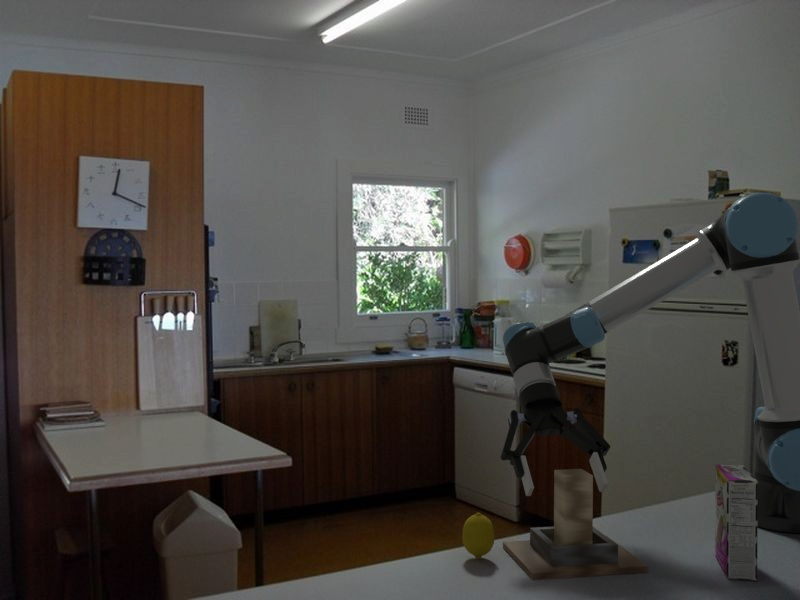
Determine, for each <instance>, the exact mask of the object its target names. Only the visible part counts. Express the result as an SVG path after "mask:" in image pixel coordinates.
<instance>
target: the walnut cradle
mask: <svg viewBox="0 0 800 600" xmlns="http://www.w3.org/2000/svg"><path fill="white" fill-rule="evenodd" d="M502 548H503V549H504V550H505V551H506V552H507V553H508V555H509V556H512V557H513V558H514V559H515V560H516V561H517V562H516V561H515V560H514V559H513V558H512V557H511V558H512V559H513V560H514V561H515V562H516V564H518V565H519V566H520V568H521V569H522V568H523V569H524V570H525V571H524V570H523V569H522V570H523V571H524V572H525V573H526V575H528V576H529V578H531V579H532V580H533V581H534V580H547V579H561V578H563V579H564V578H576V577H579V578H580V577H594V576H595V577H596V576H607V575H608V576H609V575H624V574H641V573H649V565H647V564H646V563H645V562H643V561H642V560H641V559H639V557H637V556H636V555H634V554H633V553H632V552H630V551H629V550H627V549H626V548H625V547H623V546H622V545H620V544H619V543H618V542H617V541H615V540H614V539H612V538H611V537H610V536H608V535H605V534H604V533H602V532H601V531H600V530H598V529H597V528H596V527H594V526H593V531H592V544H584V545H567V546H557V545H556V544H555V543H554V526H542V527H541V526H537V527H530V528H529V539H527V540H525V539H524V540H512V541H511V540H509V541H502Z"/></svg>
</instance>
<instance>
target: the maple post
mask: <svg viewBox="0 0 800 600" xmlns="http://www.w3.org/2000/svg"><path fill="white" fill-rule="evenodd" d="M553 473H554V478H553V481H554V486H553V503H554V504H553V527H554V543H555V544H556V545H557V546H567V545H584V544H592V531H593V527H594V525H593V523H594V521H593V520H594V518H593V516H594V513H593V511H594V510H593V509H594V507H593V506H594V505H593V504H594V474H591V473H589V472H588V471H586V470H584V469H583V468H570V469H569V468H568V469H566V468H565V469H554V472H553Z"/></svg>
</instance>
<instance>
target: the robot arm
mask: <svg viewBox="0 0 800 600" xmlns="http://www.w3.org/2000/svg"><path fill="white" fill-rule="evenodd" d="M798 226H799V222H798V216H797V213H796V211H795V210H794V208H793V206H792V205H791V204H790V203H789V201H787V200H785V199H784V197H781V196H779V195H778V194H775V193H769V192H763V191H762V192H755V193H754V192H752V193H750V194H746V195H743V196H742V197H739V198H738V199H737V200H735V201H734V202H733V203H732V204H731V206H729V207H728V208H727V209H726V210H725V211H724V212H722V214H721V215H720V216H719V217H718V218H716V219H715V220H714V221H712V222H711V223H709V224H707V225H706V226H705V227H703V228H701V229H700V230H699V231H698V234H697V236H696V238H695V239H692V240H690V241H689V242H688V243H686V244H684V245H682V246H681V247H679V248H677V249H675V250H674V251H672V252H670V253H669V254H667V255H666V256H664V257H662V258H660V259H659V260H657V261H655V262H654V263H652V264H650V265H649V266H647V267H645V268H644V269H642V270H640V271H638V272H636V273H635V274H634V275H632V276H630V277H628V278H627V279H625V280H623V281H622V282H619V283H618V284H617V285H615V286H613V287H611V288H610V289H608V290H607V291H604V292H603V293H602V294H600V295H597V296H596V297H594V298H593V299H591V300H589V301H588V302H586V303H584V304H582V305H581V306H579V307H578V308H576V309H574V310H572V311H570V312H569V313H567V314H565V315H563V316H561V317H559V318H556V319H554V320H552V321H550V322H547V323H546V324H544V325H541V326H536V325H535V324H534V323H533V322H529V321H523V322H516V323H513V324H511V325H509V326H508V327H507V328H506V330H505V331H504V333H503V335H502V341H503V345H504V354H505V356H506V359H507V362H508V365H509V368H510V369H509V370H510V373H511V374H512V378H513V382H514V386H515V390H516V393H517V396H518V401H519V405H520V408H521V411H522V413H518V411H517V410H515V409H512V410H511V411H510V413H509V416H508V420H507V421H508V430H507V434H506V437H505V440H504V443H503V446H502V451H501V454H500V460H502V461H503V462H504V461H509V464H510V465H511V466H513V470H514V474H515V476H516V478H518V479H519V478H520V479H521V481H522V485H523V489H524V493H525V497H531V496H532V493H533V491H534V489H535V486H534V482H533V479H532V476H531V471H530V467H529V465H528V460H527V457H526V455H523V453H524V452H525V450H526V448H528V446H529V444H530V443H531V441H532V440H533V438H534V437H535V435H536V434H537V435H539V436H540V437H546V436H555V437H556V436H557V435H559V436H560V437H561V438H563V439H567V440H568V441H569V442H570V443H572V444H573V445H574V446H576V447H577V448H579V450H581V451H582V452H583V453H585V454H586V455H587V456H589V457H590V458H589V460H588V462H589V464H590V467H591V470H592V473H593V474H592V475H593V478H594V480H595V482H596V485H597V488H598V491H599V493H604V492H605V491H606V489H607V487H608V485H609V482H608V478H607V476H606V473H605V472H606V471H607V467H608V466H607V464H606V461H605V457H606V456H607V454H608V452H609V451H610V449H611V444H609V443H608V441H607V440H606V439H605V438H604V437H603V436H602V435H601V434H600V433H599V431H597V429H595V427H594V426H592V424H591V423H590V422H589V421H588V420H587V419H586V417H584V415H583V412H582V410H581V409H580V408H579V407H575V408H574V409H573V410H572V411H566V410H565V409H564V408H563V402H562V399H561V397H560V394H559V391H558V388H557V385H556V381H555V379H554V376H553V372H552V369H551V366H550V364H551V363H553V362H557V361H559V360H561V359H564V358H566V357H569V356H571V355H573V354H576V353H578V352H581V351H584V350H586V349H590V348H592V347H593V346H595V345H597V344H599V343H601V342H603V341H604V340H605V339H606V338H605V337H606V334H608V333H609V332H610V331H612V330H614V329H616V328H617V327H620V326H621V325H623V324H625V323H627V322H629V321H630V320H632V319H634V318H636V317H637V316H639V315H640V314H643V313H644V312H646V311H648V310H649V309H651V308H653V307H654V306H656V305H658V304H660V303H662V302H664V301H665V300H667V299H668V298H670V297H672V296H674V295H675V294H678V293H679V292H681V291H682V290H684V289H686V288H688V287H689V286H691V285H693V284H695V283H696V282H699V281H700V280H702V279H704V278H705V277H707V276H709V275H711V274H713V273H714V272H716V271H722V272H726V271H728V270H729V269H731V270H730V271H731V273H732V274H733V275H735V276H737V277H738V278H739V279H740V280H741V282H742V287H743V294H744V298H745V299H744V300H745V303H746V304H745V306H746V309H747V314H748V321H749V325H750V330H751V337H752V342H753V347H754V353H755V358H756V363H757V369H758V374H759V380H760V386H761V391H762V398H763V403H764V406H760V407H759V406H758V408H756V410H755V413H754V419H753V424H754V456H753V457H754V458H753V459H754V460H753V462H754V463H753V477H754V478H755V479H756V480H757V481H758V495H757V498H758V527H760V528H762V529H766V530H771V531H775V532H782V533H791V532H792V534H793V533H794V534H800V306H799V301H798V294H797V289H796V283H795V279H794V274H793V273H794V270H795V268H797V265H799V263H800V255H799V248H798V243H797V234H798V230H799V228H798ZM522 422H523V423H524V424H525V425H526V426H527V427H529V428H528V430H527V431H526V432H525V434H524V436H523V437H522V439H521V440H520V441H519V443H518V445H517V446H516V447H515V449H514V450H512V446H513V442H514V439H515V435H516V431H517V427H518V426H520V425H521V423H522ZM573 425H574V426H573ZM563 427H564V429H563Z"/></svg>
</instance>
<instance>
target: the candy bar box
mask: <svg viewBox="0 0 800 600" xmlns="http://www.w3.org/2000/svg"><path fill="white" fill-rule="evenodd" d="M714 468H715V471H714V472H715V473H714V474H715V480H714V481H715V485H714V487H715V488H714V489H715V491H714V492H715V495H714V496H715V497H714V498H715V505H714V507H715V512H714V513H715V515H714V516H715V517H714V519H715V520H714V521H715V528H714V529H715V537H714V538H715V539H714V540H715V546H714V548H715V549H714V551H715V555H714V556H715V558H716V560H717V562H718V564H719V565H720V568H721V570H722V571H723V573H724V575H725V577H726V579H728V580H732V581H733V580H734V581H750V582H751V581H753V582H758V539H759V537H758V529H759V528H758V527H759V526H758V498H757V495H758V481H757V480H756V479H755V478H754V475H753V474H752V473H751V472H750V471H749V470H748V469H747V468H746V467H745V465H741V464H723V463H719V464H715V467H714Z"/></svg>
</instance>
